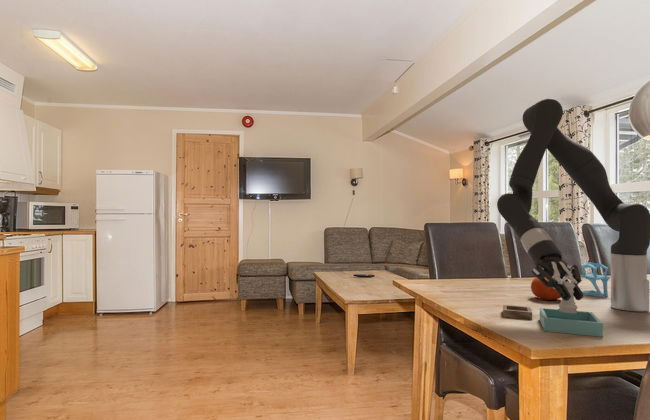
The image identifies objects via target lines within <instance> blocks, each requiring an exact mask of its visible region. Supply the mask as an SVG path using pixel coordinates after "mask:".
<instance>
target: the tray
mask: <svg viewBox="0 0 650 420" xmlns="http://www.w3.org/2000/svg"><path fill="white" fill-rule="evenodd" d="M558 309H559V308H549V307H547V308H546V307H539V322H540V323H541V326H542V329H543V331H544V332H552V333H559V334H561V333H562V334H570V335H572V334H573V335H580V336H590V337H600V338H603V337H604V323H603V321H601V320H600V319H599V318H598V317H597V315H595V313H594V312H593V311H585V310H584V311H581V310H577V311H578V312H577V313H576V314H567V313H562V312H560V311H559V310H558Z"/></svg>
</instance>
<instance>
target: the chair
mask: <svg viewBox="0 0 650 420" xmlns="http://www.w3.org/2000/svg"><path fill="white" fill-rule="evenodd" d="M581 268H582V274H580V276H581V279H582V278H583V279H586V280H588V281H589V282H590V283H591V284H592V286H593V287H594V289H593V290H592V289H591V290H589V289H587V290H581V291H582V292H583V295H584V296H585V295H586V296H592V297H598V298H604V297H605V298H608V297H609V293H608V292H609V291H608V290H609V289H608V281H609V280H611V276H608V271H609V267H607V266H606V265H605V264H602V263H600V262H599V263H598V262H596V263H595V262H591V261H588V262H585V263H583V264H582V265H581ZM586 268H587V269H588V268H590V269H592V273H590V274H586V273H587V271H586ZM598 268H603V269H604V270H605V271H604V272H603V275H600V274H598V273H597V271H598ZM600 280H601V282H602V289H603V292H602V291H601V289H600V288H599V286H598V283H597V281H600Z"/></svg>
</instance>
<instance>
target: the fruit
mask: <svg viewBox="0 0 650 420" xmlns="http://www.w3.org/2000/svg"><path fill="white" fill-rule="evenodd" d="M545 280H546V281H548V279H547V278H546V277H545ZM530 289H531V293H532V294H533V295H534V297H536V298H538V299H540V300H544V301H545V300H546V301H554V300H559V299H562V298H561V297H560V295H559V293H558V292H557V290H556V289H554V288H553V287H547V286H546V285H545V284H543V283H542V282H541V281H540V280H539V279H538V278H537V277H536V276H535V278H534V279H533V280H532V281H531V283H530Z"/></svg>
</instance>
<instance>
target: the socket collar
mask: <svg viewBox="0 0 650 420" xmlns="http://www.w3.org/2000/svg"><path fill="white" fill-rule="evenodd" d="M502 317H503V318H512V319H522V320H523V319H524V320H533V311H532V308H531V306H523V305H512V304H511V305H510V304H509V305H508V304H502Z"/></svg>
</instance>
